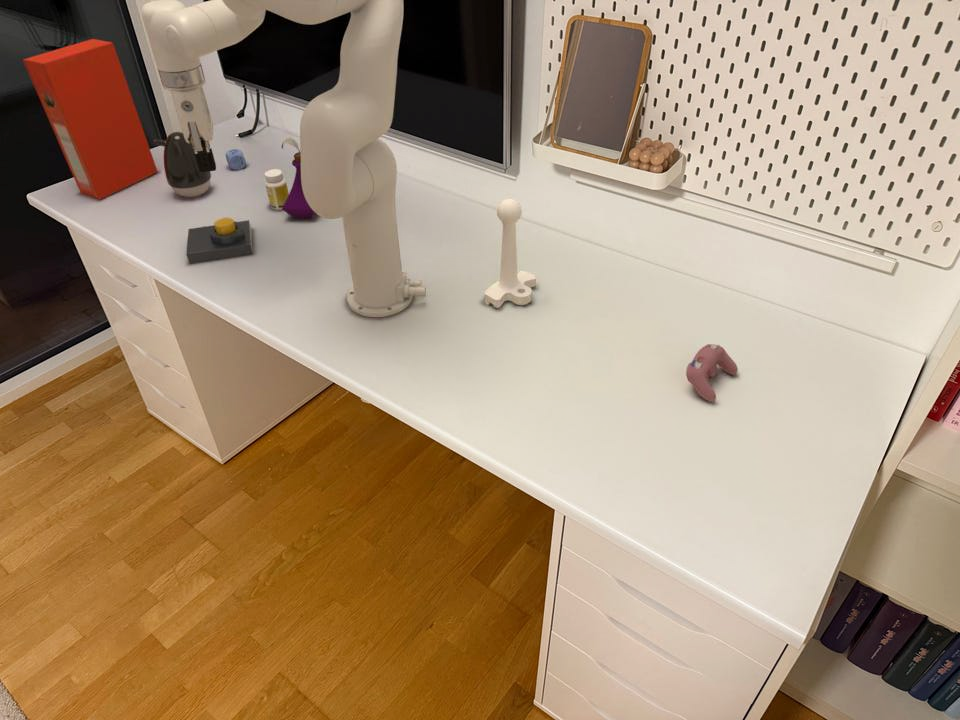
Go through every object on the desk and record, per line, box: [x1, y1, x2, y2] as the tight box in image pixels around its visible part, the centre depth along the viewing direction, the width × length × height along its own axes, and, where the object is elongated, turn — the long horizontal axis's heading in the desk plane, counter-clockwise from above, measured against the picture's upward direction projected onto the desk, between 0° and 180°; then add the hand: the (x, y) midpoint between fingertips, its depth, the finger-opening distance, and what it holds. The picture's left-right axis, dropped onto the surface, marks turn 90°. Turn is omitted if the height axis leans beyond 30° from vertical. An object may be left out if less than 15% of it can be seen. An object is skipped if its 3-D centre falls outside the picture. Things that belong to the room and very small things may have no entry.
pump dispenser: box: [152, 131, 212, 198], centre depth 166 cm, size 10×10×15 cm
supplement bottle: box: [264, 168, 290, 211], centre depth 162 cm, size 5×5×8 cm
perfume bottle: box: [280, 137, 316, 220], centre depth 156 cm, size 8×8×18 cm
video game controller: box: [685, 343, 739, 403], centre depth 113 cm, size 10×5×7 cm, turn 141°
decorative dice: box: [225, 148, 247, 171], centre depth 181 cm, size 4×4×4 cm
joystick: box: [484, 198, 537, 309], centre depth 128 cm, size 11×8×20 cm
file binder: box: [22, 38, 159, 201], centre depth 166 cm, size 8×17×32 cm, turn 149°
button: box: [213, 217, 236, 235], centre depth 147 cm, size 4×4×2 cm
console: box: [185, 219, 254, 265], centre depth 150 cm, size 13×11×4 cm
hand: (208, 169), depth 139 cm, fingers closed
